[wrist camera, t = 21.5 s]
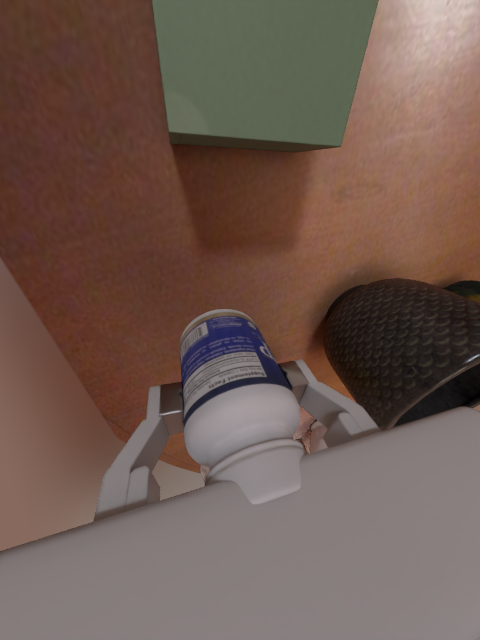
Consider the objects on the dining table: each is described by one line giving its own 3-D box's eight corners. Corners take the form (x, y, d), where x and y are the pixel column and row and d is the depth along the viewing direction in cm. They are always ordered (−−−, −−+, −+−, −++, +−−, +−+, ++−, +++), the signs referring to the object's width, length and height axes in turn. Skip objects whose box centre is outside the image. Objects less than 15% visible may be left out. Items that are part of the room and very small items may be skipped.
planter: (391, 232, 30) (596, 294, 16) (404, 306, 42) (527, 381, 27) (285, 313, 34) (367, 421, 20) (324, 360, 46) (394, 449, 32)
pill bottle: (260, 352, 15) (330, 498, 9) (194, 374, 15) (213, 547, 8) (251, 295, 12) (354, 460, 5) (165, 320, 12) (157, 540, 5)
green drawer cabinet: (124, -213, 10) (58, -721, 4) (337, -120, 13) (470, -354, 7) (170, 143, 18) (168, 132, 12) (295, 152, 21) (341, 146, 15)
